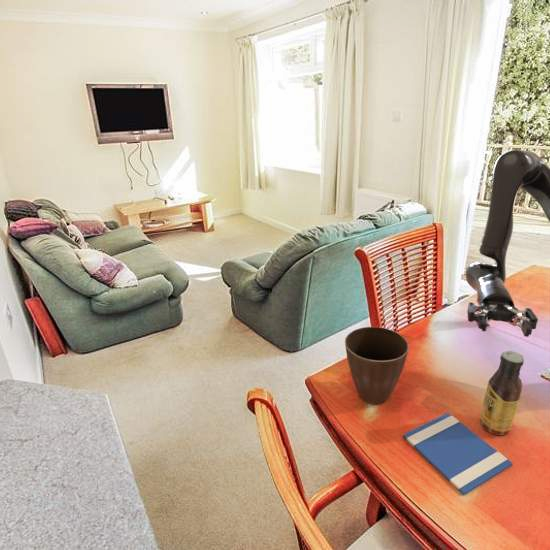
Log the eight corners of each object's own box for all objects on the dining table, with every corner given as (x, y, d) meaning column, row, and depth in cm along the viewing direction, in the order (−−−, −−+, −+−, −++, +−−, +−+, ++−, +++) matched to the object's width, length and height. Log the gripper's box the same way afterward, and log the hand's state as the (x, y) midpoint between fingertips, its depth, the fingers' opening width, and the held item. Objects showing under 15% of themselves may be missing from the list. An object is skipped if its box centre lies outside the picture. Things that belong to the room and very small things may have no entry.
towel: (447, 414, 89) (448, 412, 89) (512, 465, 76) (513, 462, 76) (402, 436, 84) (403, 434, 84) (463, 495, 71) (464, 493, 70)
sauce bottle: (477, 413, 89) (492, 343, 81) (508, 420, 87) (526, 348, 79) (480, 434, 83) (497, 360, 76) (513, 441, 81) (533, 366, 73)
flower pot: (368, 424, 88) (371, 368, 81) (332, 387, 100) (333, 336, 94) (416, 402, 93) (422, 349, 87) (376, 370, 106) (380, 321, 100)
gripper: (466, 283, 100) (473, 312, 86) (528, 289, 95) (546, 320, 81) (462, 308, 102) (468, 340, 89) (522, 315, 98) (539, 349, 84)
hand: (505, 330), depth 85 cm, fingers open, 8 cm apart
